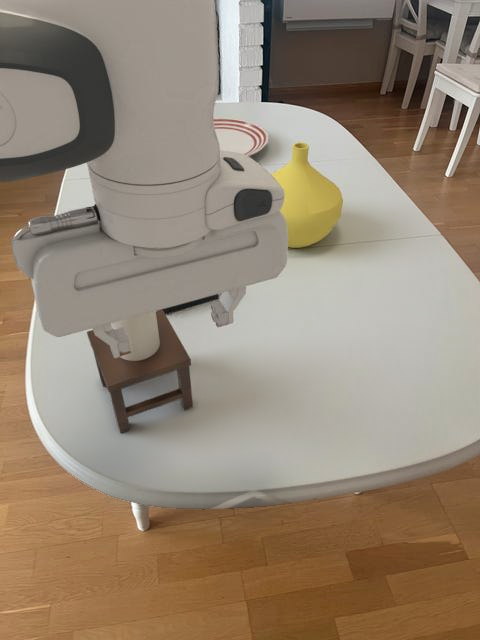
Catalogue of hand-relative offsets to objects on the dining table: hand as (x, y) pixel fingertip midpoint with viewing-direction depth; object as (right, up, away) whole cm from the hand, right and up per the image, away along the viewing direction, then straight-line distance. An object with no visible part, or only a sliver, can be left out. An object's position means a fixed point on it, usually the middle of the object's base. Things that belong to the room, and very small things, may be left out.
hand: (173, 335), depth 46 cm
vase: (+17, +19, +62) cm, 67 cm away
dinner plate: (0, +48, +94) cm, 106 cm away
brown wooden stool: (-8, -9, +30) cm, 32 cm away
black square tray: (-5, +7, +48) cm, 49 cm away
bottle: (-8, -2, +23) cm, 25 cm away
